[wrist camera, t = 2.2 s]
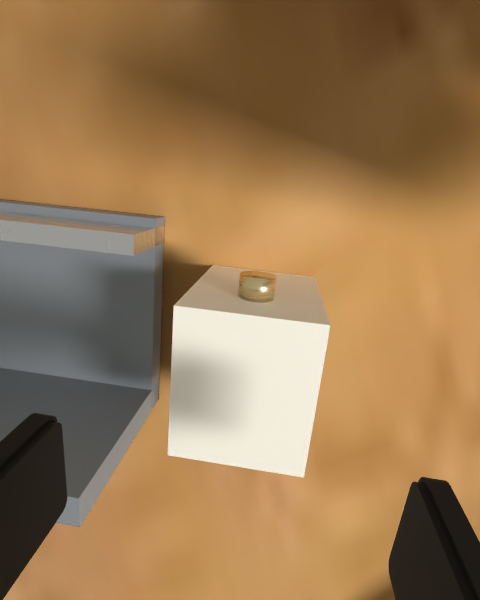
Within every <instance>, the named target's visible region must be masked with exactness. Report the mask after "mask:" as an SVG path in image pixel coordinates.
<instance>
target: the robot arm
mask: <svg viewBox="0 0 480 600" xmlns="http://www.w3.org/2000/svg"><path fill="white" fill-rule="evenodd" d="M66 503H67V486H66V472H65V459H64V445H63V432H62V425H61V423H59V422H58V421H57V418H56V417H55V416H51V415H45V414H39V413H32V414H31V415H29V416H28V417H27V418H26V419H25V420H24V421H23V422H21V423H20V424H19V425H18V426H17V427H16V428H15V429H14V430H13V431H11V432H10V433H9V434H8V435H7V436H6V437H5V438H4V439H3V440H1V441H0V600H3V598H4V597H5V596H6V594H7V593H8V591H9V590H10V588H11V587H12V585H13V584H14V582H15V581H16V580H17V578H18V577H19V575H20V574H21V572H22V571H23V569H24V568H25V567H26V565H27V564H28V562H29V561H30V559H31V558H32V556H33V555H34V553H35V552H36V551H37V549H38V548H39V546H40V545H41V543H42V542H43V540H44V539H45V537H46V536H47V535H48V533H49V532H50V530H51V529H52V527H53V526H54V524H55V523H56V521H57V520H58V519H59V517H60V516H61V514H62V513H63V511H64V509H65V506H66ZM389 574H390V579H391V583H392V587H393V591H394V595H395V599H396V600H480V542H479V540H478V538H477V536H476V534H475V533H474V531H473V529H472V527H471V525H470V523H469V521H468V519H467V517H466V515H465V513H464V511H463V509H462V507H461V505H460V504H459V502H458V500H457V498H456V496H455V494H454V492H453V490H452V488H451V486H450V485H449V483H448V482H447V481H444V480H438V479H431V478H425V477H421V478H420V479H419V481H418V482H413V483H412V484H411V487H410V490H409V494H408V497H407V500H406V504H405V507H404V510H403V514H402V517H401V521H400V524H399V527H398V531H397V534H396V537H395V541H394V544H393V547H392V551H391V554H390V558H389Z"/></svg>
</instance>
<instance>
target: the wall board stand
mask: <svg viewBox="0 0 480 600" xmlns="http://www.w3.org/2000/svg"><path fill="white" fill-rule="evenodd" d="M164 219H165V217H163V216H153V215H144V214H134V213H125V212H116V211H106V210H97V209H87V208H78V207H69V206H59V205H50V204H40V203H31V202H21V201H12V200H3V199H0V441H1V440H3V439H4V438H5V437H6V436H7V435H8V434H9V433H10V432H11V431H13V430H14V429H15V428H16V427H17V426H18V425H19V424H20V423H21V422H23V421H24V420H25V419H26V418H27V417H28V416H29V415H31V414H32V413H39V414H45V415H51V416H55V417H56V418H57V421H58V422H59V423H61V425H62V432H63V445H64V459H65V472H66V486H67V503H66V506H65V509H64V511H63V513H62V514H61V516H60V517H59V519H58V520H57V521H56V523H61V524H66V525H72V526H77V527H80V526H81V525H82V523H83V521H84V520H85V518H86V517H87V515H88V513H89V512H90V510H91V508H92V507H93V505H94V504H95V502H96V500H97V499H98V497H99V495H100V494H101V492H102V490H103V489H104V487H105V486H106V484H107V482H108V481H109V479H110V477H111V476H112V474H113V473H114V471H115V469H116V468H117V466H118V464H119V463H120V461H121V460H122V458H123V456H124V455H125V453H126V451H127V450H128V448H129V446H130V445H131V443H132V442H133V440H134V438H135V437H136V435H137V433H138V432H139V430H140V429H141V427H142V425H143V424H144V422H145V420H146V419H147V417H148V416H149V414H150V412H151V411H152V409H153V407H154V406H155V404H156V402H157V401H158V399H159V381H160V349H161V317H162V284H163V252H164Z"/></svg>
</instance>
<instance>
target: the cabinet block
mask: <svg viewBox="0 0 480 600" xmlns="http://www.w3.org/2000/svg"><path fill="white" fill-rule="evenodd" d="M329 330H330V323H329V320H328V316H327V313H326V310H325V307H324V304H323V300H322V297H321V294H320V291H319V288H318V284H317V281H316V278H315V277H312V276H303V275H295V274H286V273H277V272H269V271H260V270H251V269H243V268H234V267H225V266H217V265H212V266H211V267H210V268H209V269H208V271H207V272H206V273H205V274H204V275H203V276H202V277H201V278H200V279H199V280H198V281H197V282H196V283H195V284H194V285H193V286H192V287H191V288H190V289H189V290H188V291H187V292H186V293H185V294H184V295H183V296H182V297H181V298H180V300H179V301H178V302H177V303H176V304H175V305H174V310H173V335H172V361H171V386H170V411H169V436H168V455H170V456H176V457H182V458H188V459H194V460H200V461H207V462H213V463H219V464H225V465H231V466H237V467H243V468H249V469H256V470H262V471H268V472H274V473H280V474H286V475H292V476H298V477H304V473H305V468H306V462H307V456H308V451H309V445H310V439H311V433H312V428H313V422H314V416H315V410H316V405H317V399H318V393H319V387H320V382H321V376H322V370H323V365H324V359H325V353H326V347H327V342H328V336H329Z"/></svg>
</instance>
